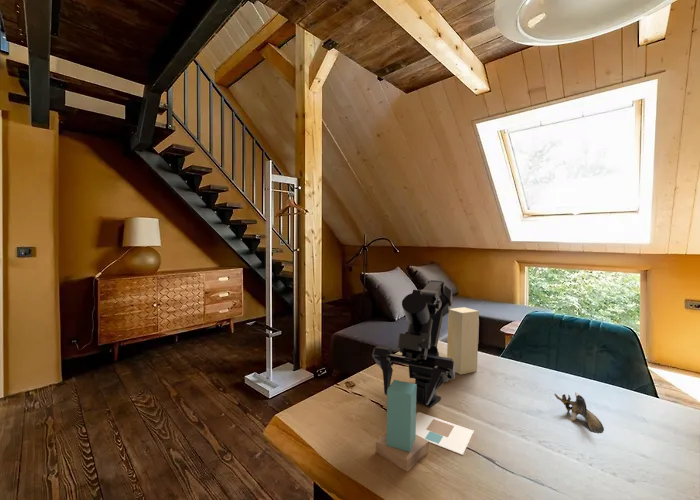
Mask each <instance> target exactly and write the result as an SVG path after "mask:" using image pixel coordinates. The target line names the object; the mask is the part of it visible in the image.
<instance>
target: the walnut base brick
mask: <svg viewBox="0 0 700 500" xmlns="http://www.w3.org/2000/svg"><path fill="white" fill-rule="evenodd" d="M386 442H387V433H385V434H384V435H382V436H381V437H380V438H379V439H377V440H376V441H375V452H376V454H378V455H380V456H381V457H383V458H385V459H386V460H388V461H389V462H391V463H392V464H393V465H396V466H397V467H398V468H401V470H404V471H405V472H407V473H408V472H409V471H410V470H411V469H412V468H413V467H415V466H416V464H418V463H419V462H420V461H421V460H422V459H423V458H424V457H425V456H427V454H429V451H430V450H429V448H430V447H429V446H430V445H429V444H430V442H429V441H427V440H426V439H424V438H422V437H420V436H418V435H416V438H415V441H414V443H413V446H412V448H411V451H410V452H407V451H404V450H401V449H397V448H394V447H390V446H387V445H386Z"/></svg>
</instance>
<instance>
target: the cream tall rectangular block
mask: <svg viewBox="0 0 700 500" xmlns="http://www.w3.org/2000/svg"><path fill="white" fill-rule="evenodd" d="M479 319H480V311H479V310H477V309H474V308H473V309H472V308H468V307H465V306H463V307H454V308H450V309H449V313H447V345H446V346H447V348H446V349H447V350H446V351H447V352H446V358H452V360H453V361H454V364H455V374H458V375H462V376H463V375H466V374H469V373H474V372H477V371H478V357H479V356H478V349H479Z"/></svg>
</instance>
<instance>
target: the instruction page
mask: <svg viewBox="0 0 700 500" xmlns="http://www.w3.org/2000/svg"><path fill="white" fill-rule="evenodd" d="M474 432H475V430H474V429H470V428H467V427H464V426H461V425H459V424H455V423H453V422H449V421H446V420H443V419H440V418H439V417H435V416H432V415H428V414H427V413H426V414H425V413H424V412H420V411H418V412H416V435H418V436H420V437H422V438H424V439H426V440H427V441H429V444H433V445H435V446H438V447H440V448H443V449H446V450H449V451H451V452H454V453H455V454H459V455H461V456H463V455H464V454H465V452H466V449H467V447H468V445H469V443H470V441H471V439H472V438H473V437H472V436H473V435H474Z"/></svg>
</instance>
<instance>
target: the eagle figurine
mask: <svg viewBox="0 0 700 500" xmlns="http://www.w3.org/2000/svg"><path fill="white" fill-rule="evenodd" d="M574 395H575V401H574V400H573V401H572V398H571V396H570V395H569V394H568V395H567V396H566V394H562V395H561V397H560V396H558V395H557V393H554V396H555V397H556V399H557V400H559V401H560V402H561V403H563V405H564V406H565V409H566V411H567V412H570V411H571V416H570V417H571V419H570V422H573V421H576V420H577V417H578V415H580V416H582V417H583V419H584V420H585V421H586V422H587V425H588V427H589V430H590V431H592V432H594V433H596V434H602V433H604V431H605V430H604V429H605V427H604V425H603V423H602V422H601V421H600V419H599V418H598V417H597V416H596V415H595V414H594V413H593V412H591V411H590V410H588V409H587V408H588V407H587V404H586V400H585V398H584V397H583V396H582V395H580V394H579V393H577V392H575V393H574ZM570 405H571V406H570Z"/></svg>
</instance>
